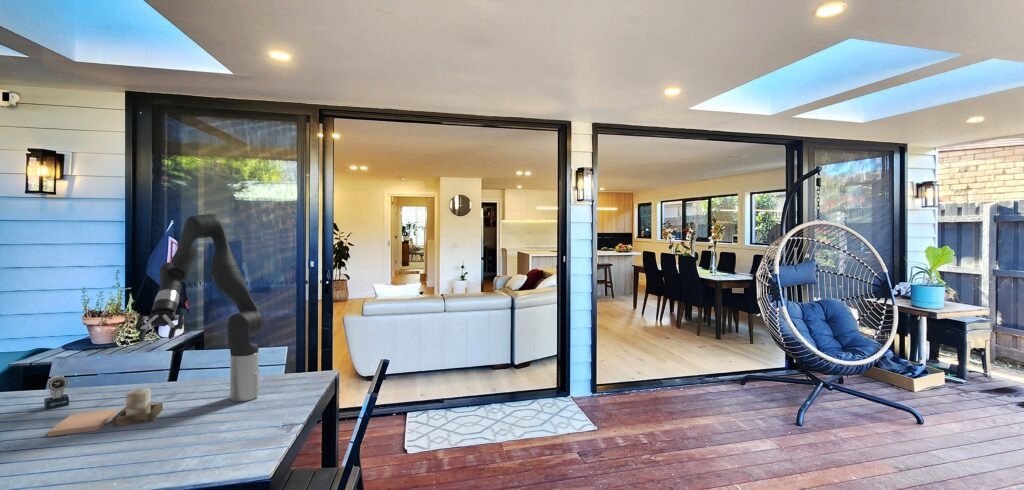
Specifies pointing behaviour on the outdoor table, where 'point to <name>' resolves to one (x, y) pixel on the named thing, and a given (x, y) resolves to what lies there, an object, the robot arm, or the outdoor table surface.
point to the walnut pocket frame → (137, 416)
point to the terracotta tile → (83, 422)
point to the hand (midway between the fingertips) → (155, 338)
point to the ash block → (138, 402)
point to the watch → (57, 393)
